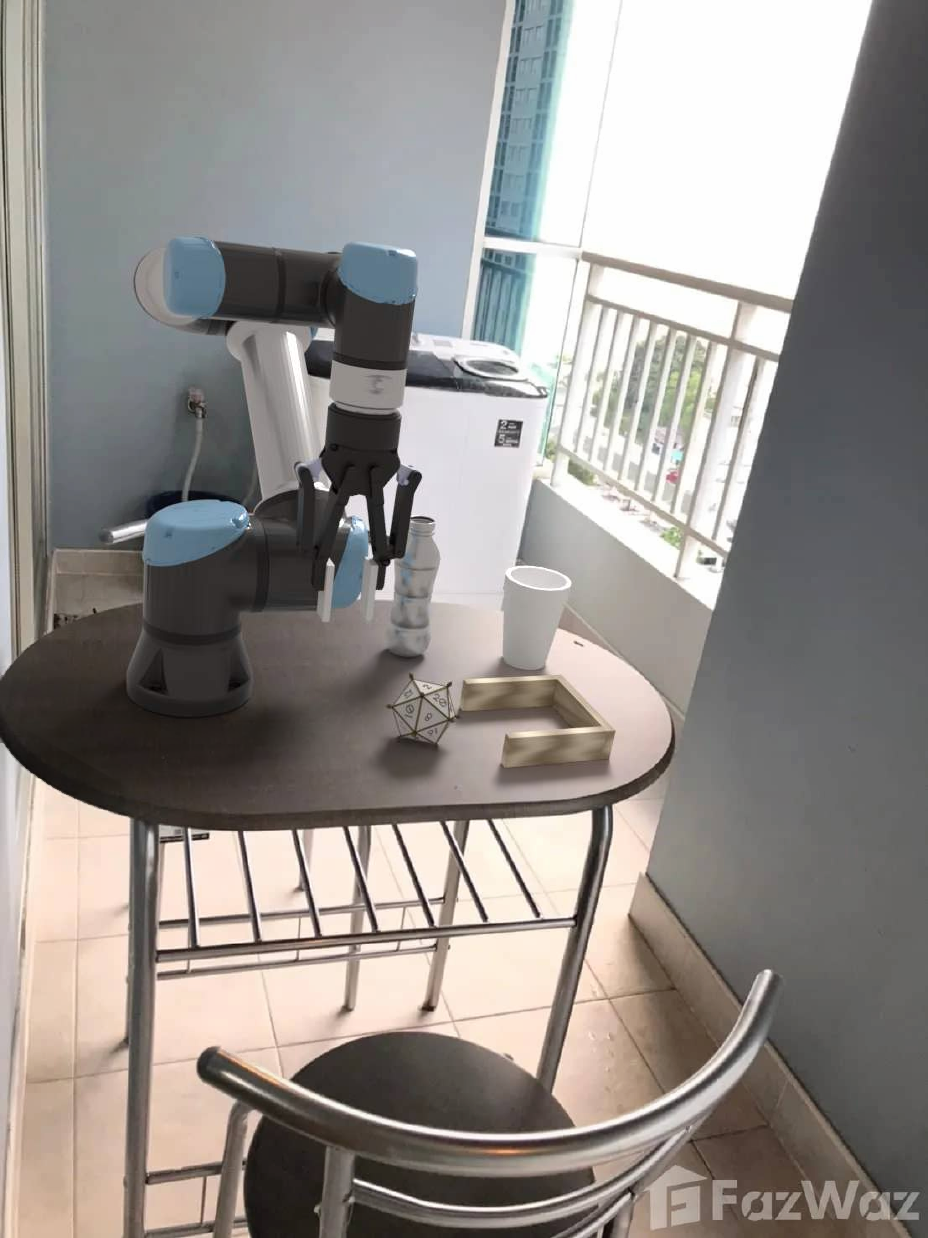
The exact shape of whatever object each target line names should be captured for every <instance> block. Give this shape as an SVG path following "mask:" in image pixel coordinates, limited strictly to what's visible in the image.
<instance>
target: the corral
mask: <svg viewBox="0 0 928 1238" xmlns="http://www.w3.org/2000/svg"><path fill="white" fill-rule="evenodd" d="M462 681H463V682H462V686H461V687H462V688H461V694H460V700H459V709H460V710H461V709H462V710H461V711H462V712H473V711H490V710H491V711H492V710H503V709H504V710H506V709H523V708H536V707H537V708H540V707H553V709H555V710H556V712H557V714H559V715H560V717H562V718H563V719H564V720H565V722H566V723H567V724H568V725H569V726H570V727H571V728H559V729H558V728H557V729H546V730H545V729H543V730H532V731H531V730H530V731H519V732H517V731H516V732H505V735H504V742H503V747H502V753H501V759H500V764H501V765H502V767H503V768H505V769H506V768H507V769H508V768H520V767H531V766H543V765H554V764H564V763H565V764H566V763H577V762H586V761H587V762H588V761H589V762H590V761H600V760H601V761H602V760H610V759H611V755H612V754H611V753H612V748H613V745H614V740H615V735H616V729H615V728H614V727H613V726H612V725H611V724H610V723H609V722H608V721H607V720H606V719H605V718H604V717H603V716H602V715H601V714H600V713H599V712H598V711H597V710H596V709H595V707H593V706H592V704H590V702H589V701H588V700H587V699H586V698H585V697H584V696H583V695H582V694H581V693H580V692H579V691H578V690H577V689H576V688H575V687H574V686H573V685H572V684H571V682H569V681H568V679H566V678H565V677H564V676H563V674H551V675H550V674H549V675H547V674H546V675H545V674H544V675H529V676H528V675H527V676H512V677H511V676H509V677H508V676H507V677H488V678H485V677H483V678H467V679H463V680H462Z"/></svg>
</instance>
